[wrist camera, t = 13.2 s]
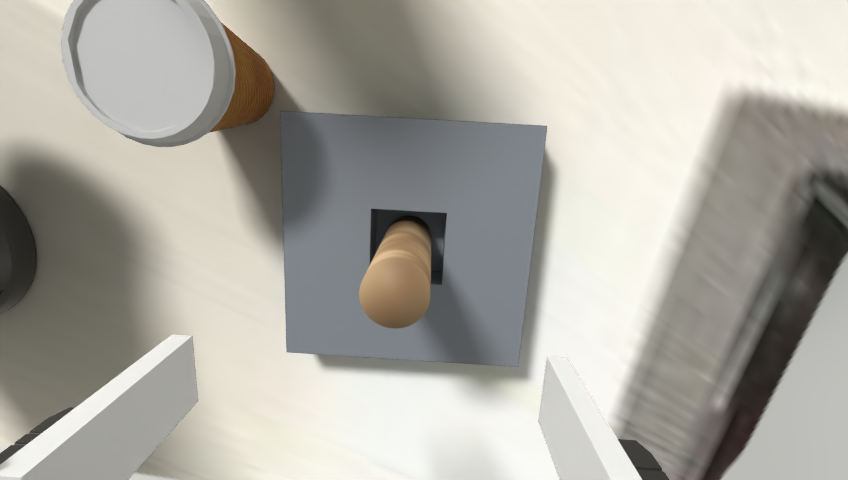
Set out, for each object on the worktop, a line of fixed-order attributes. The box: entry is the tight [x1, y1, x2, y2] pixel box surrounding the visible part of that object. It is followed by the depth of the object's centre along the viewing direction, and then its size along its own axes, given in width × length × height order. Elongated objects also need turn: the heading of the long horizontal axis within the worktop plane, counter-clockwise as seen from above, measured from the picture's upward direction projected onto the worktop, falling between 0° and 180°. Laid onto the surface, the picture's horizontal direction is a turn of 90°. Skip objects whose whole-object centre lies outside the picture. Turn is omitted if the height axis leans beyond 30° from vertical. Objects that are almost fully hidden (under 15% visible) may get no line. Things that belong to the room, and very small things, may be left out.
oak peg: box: [359, 215, 432, 329], centre depth 30 cm, size 4×4×14 cm
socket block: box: [280, 111, 547, 367], centre depth 36 cm, size 20×20×4 cm
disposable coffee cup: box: [61, 0, 274, 147], centre depth 29 cm, size 10×10×12 cm
